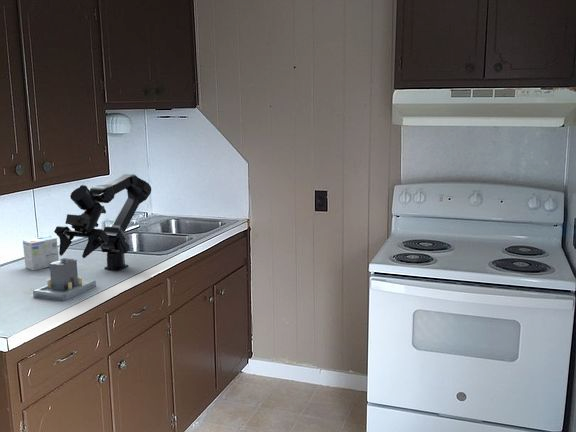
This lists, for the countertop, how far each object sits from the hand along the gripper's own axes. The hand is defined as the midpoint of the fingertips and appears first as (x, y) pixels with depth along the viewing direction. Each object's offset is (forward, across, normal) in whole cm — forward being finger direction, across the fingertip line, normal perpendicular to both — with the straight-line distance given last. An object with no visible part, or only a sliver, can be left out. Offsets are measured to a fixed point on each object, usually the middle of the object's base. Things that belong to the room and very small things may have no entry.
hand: (71, 256), depth 195 cm
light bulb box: (-4, -28, +20) cm, 35 cm away
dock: (+11, 0, +4) cm, 12 cm away
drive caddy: (+10, 0, +4) cm, 11 cm away
